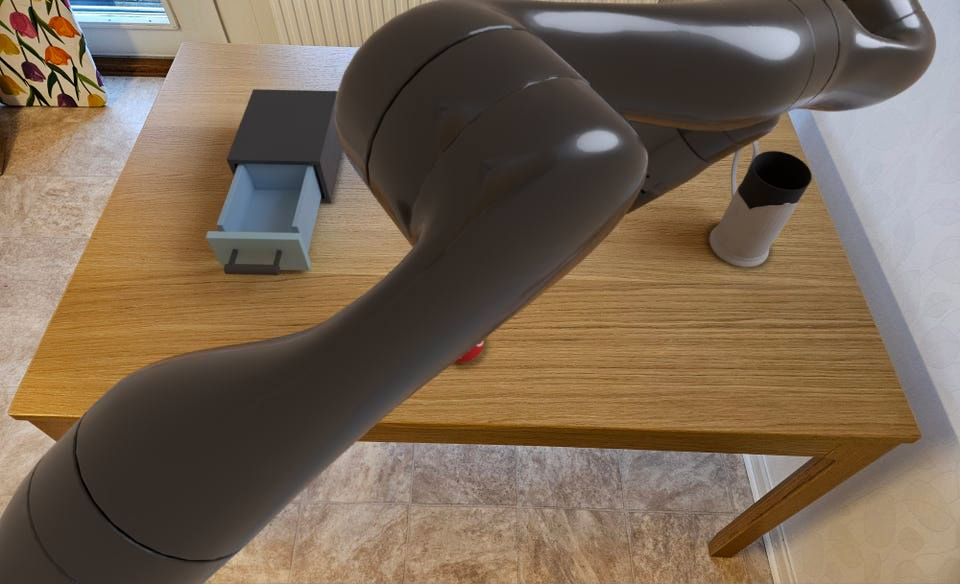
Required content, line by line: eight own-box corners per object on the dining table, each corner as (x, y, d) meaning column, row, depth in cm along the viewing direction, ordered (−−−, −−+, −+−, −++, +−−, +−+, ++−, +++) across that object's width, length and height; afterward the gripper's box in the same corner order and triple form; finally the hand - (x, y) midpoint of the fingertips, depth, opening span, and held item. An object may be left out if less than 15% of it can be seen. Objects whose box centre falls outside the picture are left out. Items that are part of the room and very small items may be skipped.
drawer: (304, 293, 82) (292, 262, 76) (215, 291, 82) (196, 260, 76) (327, 192, 93) (318, 159, 87) (248, 190, 93) (234, 157, 87)
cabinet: (331, 202, 93) (319, 161, 86) (244, 201, 93) (226, 159, 86) (346, 133, 102) (337, 90, 95) (267, 131, 102) (253, 89, 95)
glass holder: (722, 270, 86) (764, 197, 74) (688, 200, 94) (721, 124, 82) (778, 263, 87) (829, 190, 75) (740, 194, 95) (780, 119, 83)
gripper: (617, 77, 52) (490, 173, 64) (620, 189, 45) (476, 273, 57) (668, 124, 56) (539, 207, 68) (678, 234, 49) (532, 305, 61)
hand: (510, 237), depth 62 cm, fingers closed
